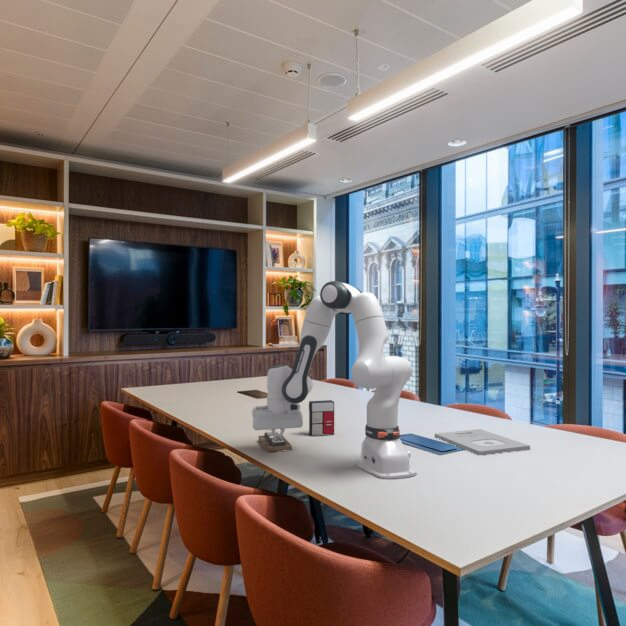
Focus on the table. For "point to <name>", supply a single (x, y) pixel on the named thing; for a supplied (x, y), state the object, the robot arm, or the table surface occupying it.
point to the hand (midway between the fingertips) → (277, 439)
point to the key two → (271, 432)
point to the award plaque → (482, 442)
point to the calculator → (321, 417)
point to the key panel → (274, 444)
